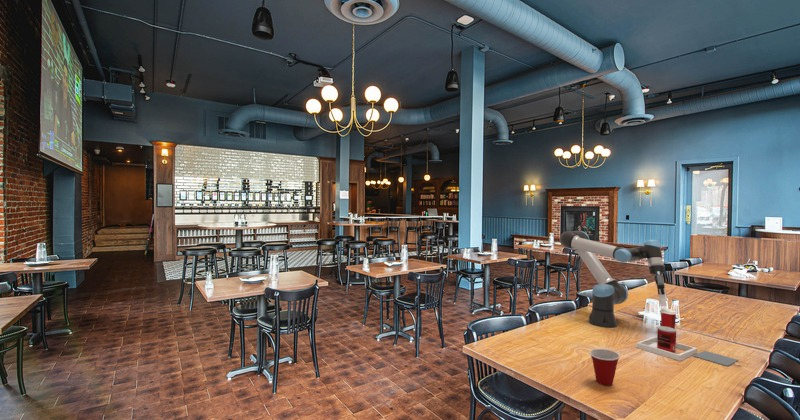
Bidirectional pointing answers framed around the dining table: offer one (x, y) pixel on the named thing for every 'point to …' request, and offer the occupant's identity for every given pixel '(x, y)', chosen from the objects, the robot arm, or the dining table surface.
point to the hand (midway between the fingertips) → (664, 303)
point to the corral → (688, 351)
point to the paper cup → (668, 318)
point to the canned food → (666, 339)
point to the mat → (716, 358)
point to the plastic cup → (604, 365)
